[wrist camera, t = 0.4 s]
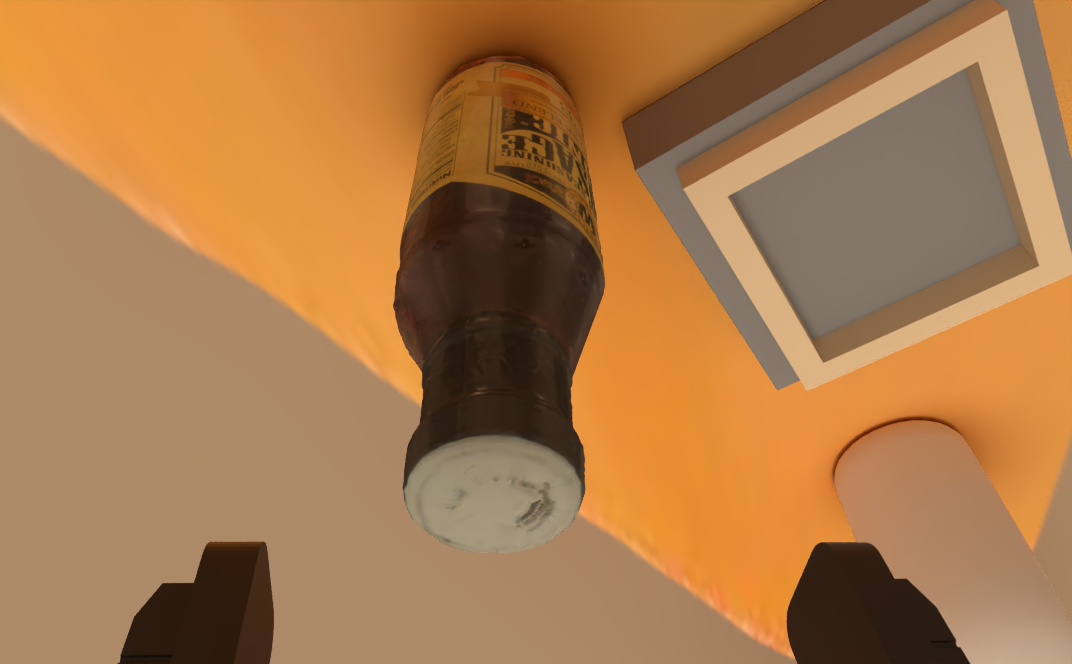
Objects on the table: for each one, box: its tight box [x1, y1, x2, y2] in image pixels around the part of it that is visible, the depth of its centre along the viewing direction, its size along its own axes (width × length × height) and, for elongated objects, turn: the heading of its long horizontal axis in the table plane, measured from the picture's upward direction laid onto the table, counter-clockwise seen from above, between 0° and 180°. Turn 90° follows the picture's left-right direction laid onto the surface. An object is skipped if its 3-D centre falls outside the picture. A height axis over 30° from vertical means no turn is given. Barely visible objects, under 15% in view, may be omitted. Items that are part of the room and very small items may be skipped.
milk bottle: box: [834, 420, 1072, 664], centre depth 41 cm, size 8×8×20 cm
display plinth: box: [622, 0, 1072, 391], centre depth 33 cm, size 14×14×6 cm
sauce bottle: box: [393, 55, 605, 554], centre depth 26 cm, size 7×6×20 cm
